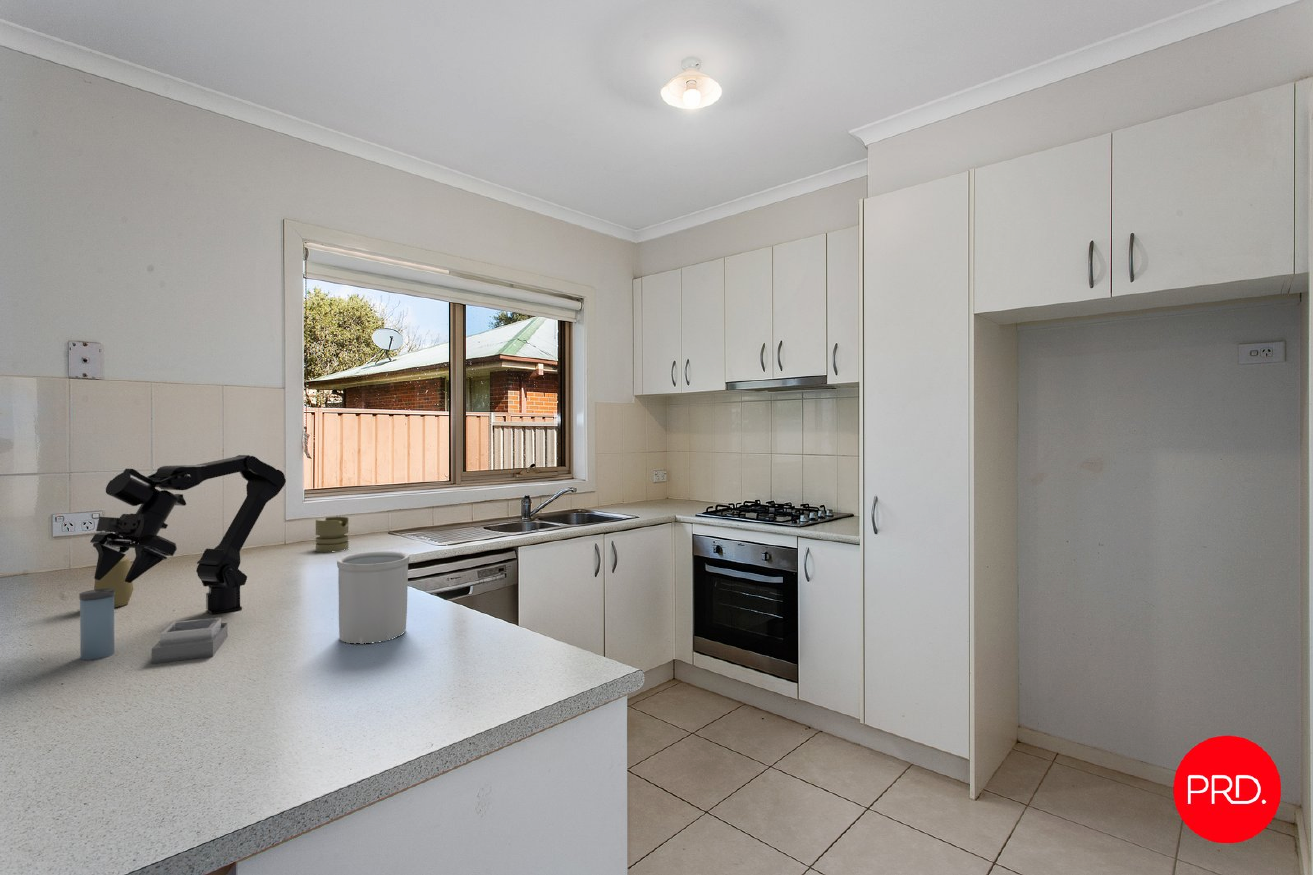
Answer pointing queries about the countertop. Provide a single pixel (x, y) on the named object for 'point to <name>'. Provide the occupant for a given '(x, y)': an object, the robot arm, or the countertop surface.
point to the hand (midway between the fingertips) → (111, 581)
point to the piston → (332, 534)
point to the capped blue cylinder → (97, 624)
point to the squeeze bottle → (117, 582)
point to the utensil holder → (372, 596)
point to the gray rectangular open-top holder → (190, 640)
